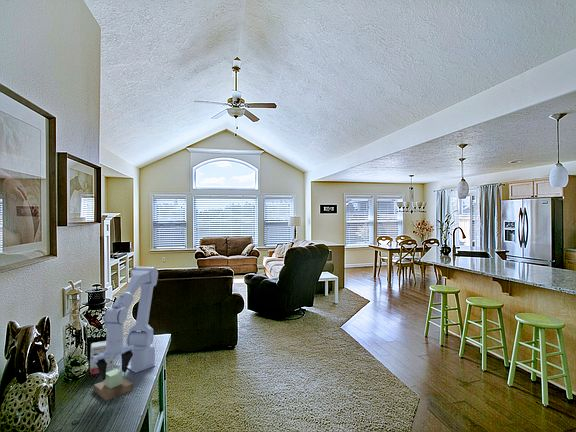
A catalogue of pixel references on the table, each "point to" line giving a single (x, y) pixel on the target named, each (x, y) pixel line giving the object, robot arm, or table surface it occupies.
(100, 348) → the ink box
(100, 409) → the table surface
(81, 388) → the table surface
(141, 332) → the robot arm
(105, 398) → the walnut block
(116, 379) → the sage cube
